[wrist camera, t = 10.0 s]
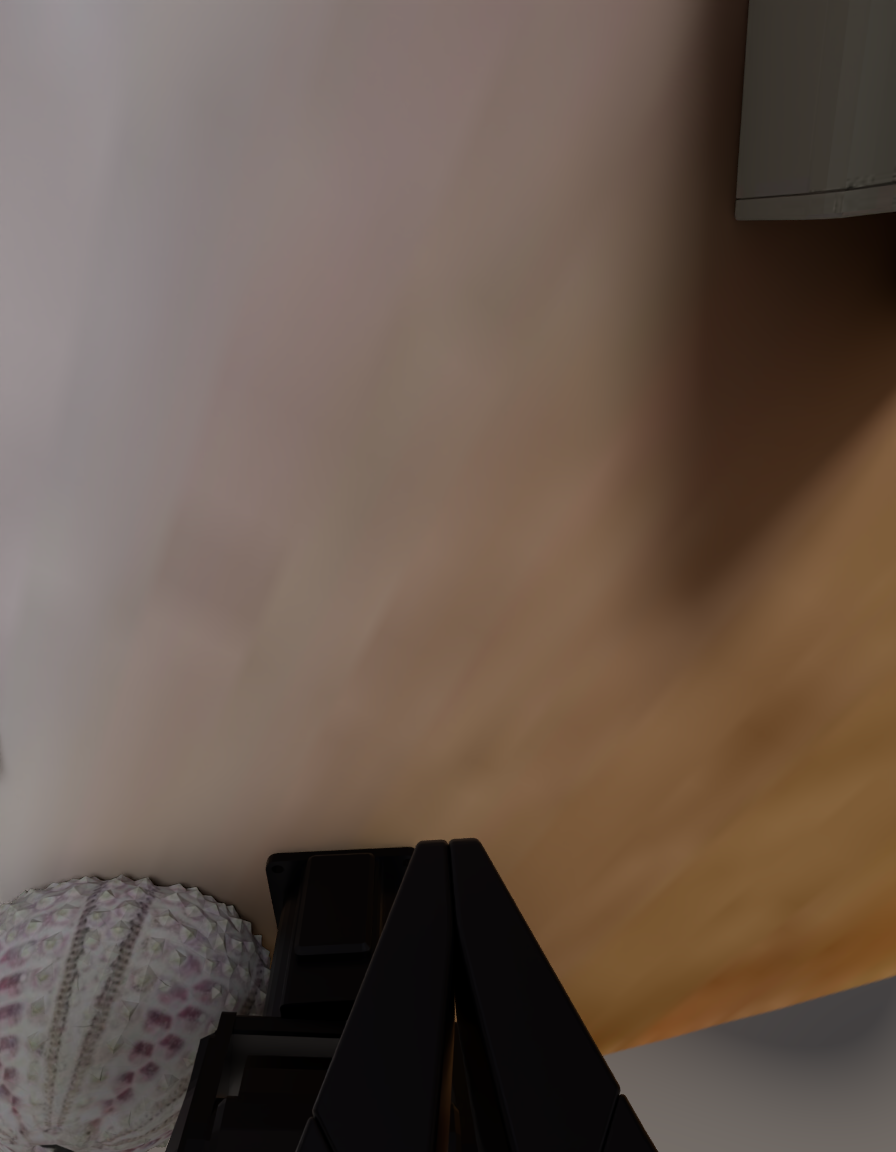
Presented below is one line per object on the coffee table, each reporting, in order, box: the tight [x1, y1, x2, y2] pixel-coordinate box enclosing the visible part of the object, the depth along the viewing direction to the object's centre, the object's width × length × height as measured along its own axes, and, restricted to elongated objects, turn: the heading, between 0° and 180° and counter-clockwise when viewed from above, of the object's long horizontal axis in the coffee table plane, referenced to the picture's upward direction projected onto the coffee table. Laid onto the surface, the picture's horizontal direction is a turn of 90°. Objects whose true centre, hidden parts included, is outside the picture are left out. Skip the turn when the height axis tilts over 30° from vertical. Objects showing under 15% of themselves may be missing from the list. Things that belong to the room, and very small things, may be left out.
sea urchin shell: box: [0, 874, 271, 1152], centre depth 27 cm, size 13×14×8 cm
